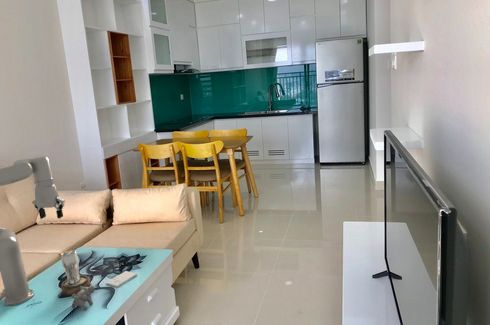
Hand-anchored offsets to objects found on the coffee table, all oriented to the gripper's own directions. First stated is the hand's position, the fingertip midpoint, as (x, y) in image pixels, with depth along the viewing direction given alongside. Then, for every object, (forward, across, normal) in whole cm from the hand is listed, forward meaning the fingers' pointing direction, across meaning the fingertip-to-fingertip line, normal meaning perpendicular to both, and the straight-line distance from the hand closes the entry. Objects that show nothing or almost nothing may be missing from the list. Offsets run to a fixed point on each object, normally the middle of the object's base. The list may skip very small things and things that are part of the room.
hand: (51, 217), depth 193 cm
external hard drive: (+35, +28, +4) cm, 45 cm away
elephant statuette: (+35, +23, -17) cm, 45 cm away
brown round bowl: (+34, +10, -4) cm, 36 cm away
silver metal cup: (+31, +9, -5) cm, 33 cm away
